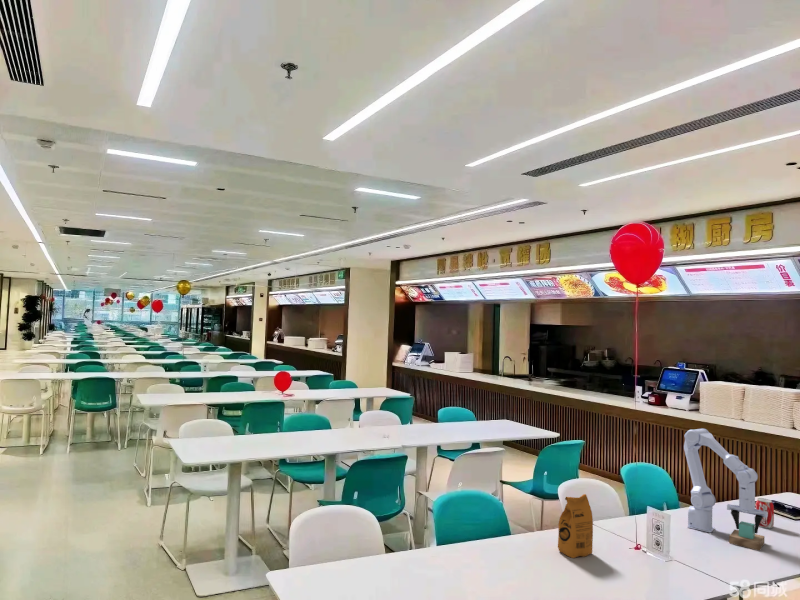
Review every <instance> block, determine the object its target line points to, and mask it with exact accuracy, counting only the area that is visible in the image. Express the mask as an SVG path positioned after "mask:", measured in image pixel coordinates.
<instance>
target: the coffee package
mask: <svg viewBox="0 0 800 600" xmlns="http://www.w3.org/2000/svg"><path fill="white" fill-rule="evenodd" d="M564 500H565V501H566V504H565V507H564V509H563V511H562V512H561V515H560V517H559V521H558V524H557V525H558V537H557V548H558V551H559V552H560V553H562V554H563V555H565V556H566V557H569V558H571V559H575V558H578V557H587V556H589V555H591V554H593V539H594V521H593V520H594V518H593V511H592V508H591V505H590V502H589V499H588V495H587V494H586V493H585V494H582V495H581V496H579V497H573V496H565V498H564Z"/></svg>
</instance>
